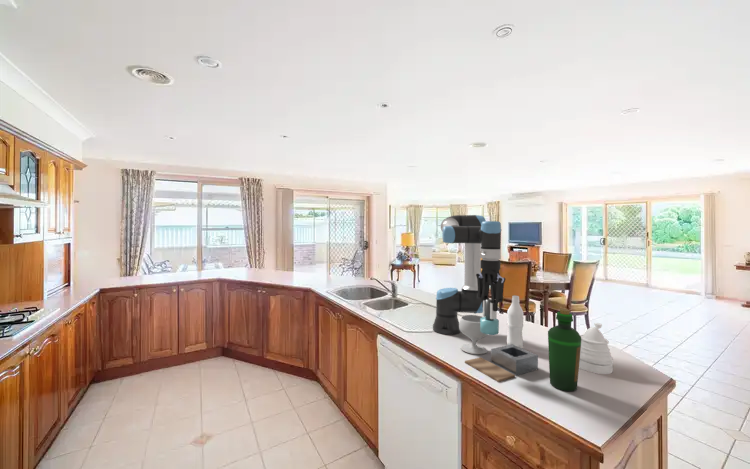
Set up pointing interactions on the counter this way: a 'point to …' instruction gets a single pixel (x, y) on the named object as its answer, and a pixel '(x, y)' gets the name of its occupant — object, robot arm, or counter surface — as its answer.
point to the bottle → (564, 352)
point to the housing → (514, 359)
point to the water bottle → (515, 323)
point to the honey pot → (595, 352)
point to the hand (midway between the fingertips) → (489, 317)
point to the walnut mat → (490, 369)
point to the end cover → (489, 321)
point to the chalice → (472, 334)
